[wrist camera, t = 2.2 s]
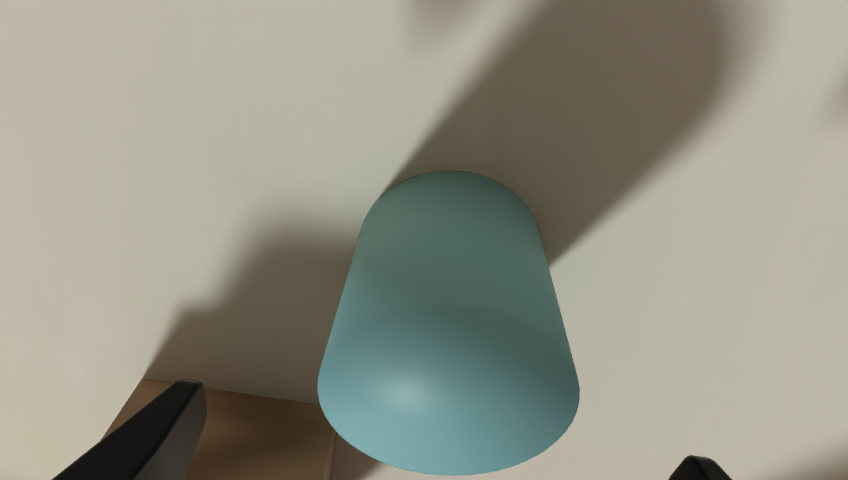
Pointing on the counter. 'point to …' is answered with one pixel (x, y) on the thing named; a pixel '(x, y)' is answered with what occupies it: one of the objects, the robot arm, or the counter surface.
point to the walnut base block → (251, 436)
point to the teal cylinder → (449, 333)
